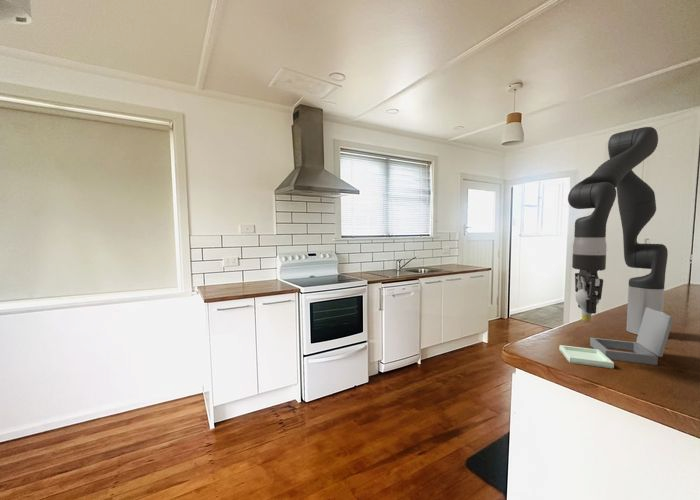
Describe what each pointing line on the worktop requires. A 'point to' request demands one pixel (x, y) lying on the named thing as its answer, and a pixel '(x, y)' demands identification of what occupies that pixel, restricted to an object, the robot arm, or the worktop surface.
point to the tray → (586, 356)
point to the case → (638, 357)
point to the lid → (654, 331)
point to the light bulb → (583, 305)
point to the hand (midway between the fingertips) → (586, 310)
